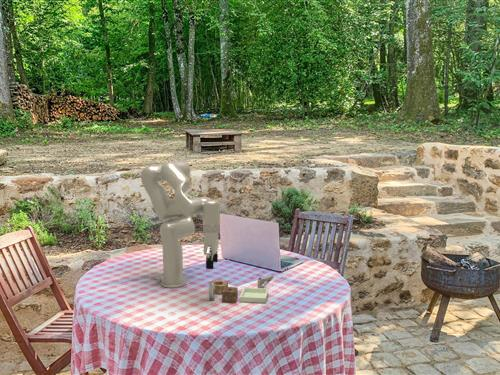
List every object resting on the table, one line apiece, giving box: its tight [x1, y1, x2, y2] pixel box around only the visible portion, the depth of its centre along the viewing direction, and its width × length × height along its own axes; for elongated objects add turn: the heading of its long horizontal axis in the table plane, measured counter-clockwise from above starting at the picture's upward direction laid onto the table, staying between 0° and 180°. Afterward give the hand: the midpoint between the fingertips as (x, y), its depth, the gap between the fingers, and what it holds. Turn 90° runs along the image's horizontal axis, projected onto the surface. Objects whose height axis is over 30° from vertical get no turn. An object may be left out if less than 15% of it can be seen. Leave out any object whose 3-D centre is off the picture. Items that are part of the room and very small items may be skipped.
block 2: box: [221, 286, 239, 304], centre depth 222 cm, size 6×6×5 cm
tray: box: [239, 286, 269, 305], centre depth 225 cm, size 12×12×2 cm
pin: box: [208, 281, 216, 302], centre depth 222 cm, size 2×2×8 cm
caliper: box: [257, 275, 274, 288], centre depth 243 cm, size 20×1×6 cm, turn 158°
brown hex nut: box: [211, 279, 229, 295], centre depth 233 cm, size 7×7×4 cm
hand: (212, 265), depth 220 cm, fingers open, 9 cm apart
